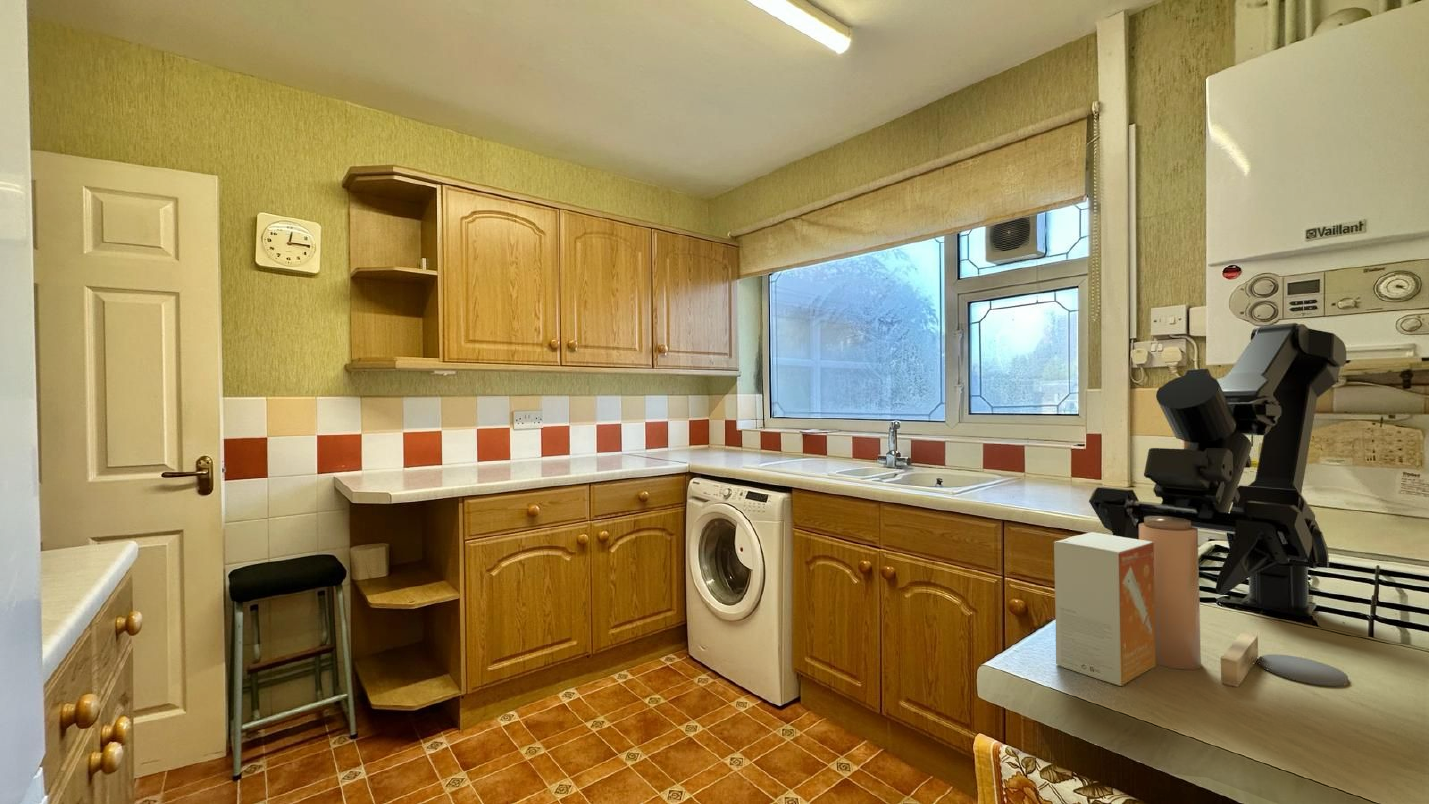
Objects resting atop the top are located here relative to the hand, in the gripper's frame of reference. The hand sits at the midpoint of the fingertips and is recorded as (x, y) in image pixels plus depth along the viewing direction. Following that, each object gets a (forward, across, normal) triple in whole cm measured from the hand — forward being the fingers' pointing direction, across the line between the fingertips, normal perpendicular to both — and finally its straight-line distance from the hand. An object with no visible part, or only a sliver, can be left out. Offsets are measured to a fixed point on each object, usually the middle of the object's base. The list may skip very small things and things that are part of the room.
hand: (1165, 581), depth 63 cm
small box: (+11, -3, +1) cm, 11 cm away
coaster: (0, +8, +12) cm, 14 cm away
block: (+3, +5, +8) cm, 10 cm away
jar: (+5, 0, +6) cm, 8 cm away
